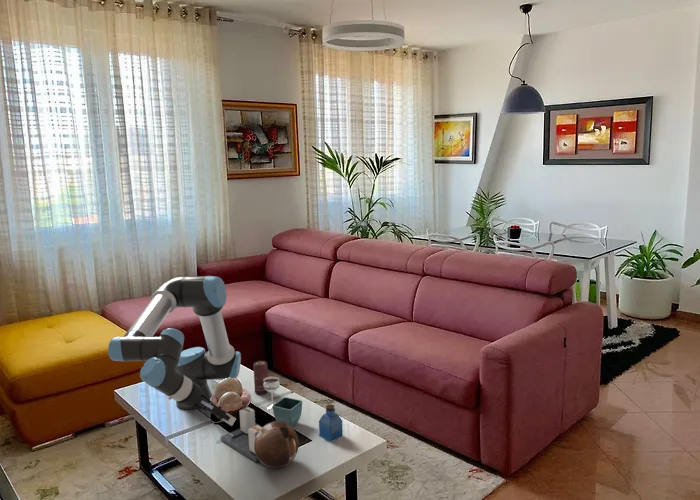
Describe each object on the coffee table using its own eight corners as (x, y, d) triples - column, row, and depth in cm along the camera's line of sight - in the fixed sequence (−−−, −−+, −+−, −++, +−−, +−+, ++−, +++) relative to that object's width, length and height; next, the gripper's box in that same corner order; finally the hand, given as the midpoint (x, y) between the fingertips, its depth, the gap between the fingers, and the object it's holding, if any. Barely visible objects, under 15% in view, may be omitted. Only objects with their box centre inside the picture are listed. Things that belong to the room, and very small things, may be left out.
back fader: (240, 430, 207) (239, 409, 206) (249, 426, 210) (248, 406, 209) (246, 433, 205) (245, 413, 203) (255, 429, 207) (254, 409, 206)
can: (263, 396, 240) (261, 366, 237) (252, 393, 243) (250, 363, 241) (271, 391, 245) (270, 361, 243) (261, 388, 248) (259, 358, 246)
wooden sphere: (248, 462, 189) (245, 422, 187) (286, 448, 198) (284, 409, 195) (267, 482, 177) (265, 440, 175) (307, 466, 186) (305, 426, 183)
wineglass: (283, 404, 232) (282, 378, 230) (274, 411, 226) (273, 384, 224) (270, 401, 235) (269, 375, 233) (261, 408, 229) (259, 381, 227)
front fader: (249, 450, 193) (248, 428, 192) (258, 445, 196) (257, 423, 195) (256, 454, 191) (254, 431, 189) (265, 449, 193) (264, 427, 192)
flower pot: (272, 427, 213) (271, 405, 211) (285, 417, 221) (284, 396, 219) (291, 431, 209) (290, 410, 207) (303, 421, 217) (303, 400, 215)
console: (221, 440, 204) (220, 436, 203) (254, 425, 214) (253, 421, 214) (256, 463, 189) (255, 458, 188) (289, 445, 199) (289, 441, 199)
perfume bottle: (331, 430, 210) (330, 401, 208) (342, 435, 205) (341, 406, 203) (319, 436, 205) (318, 406, 203) (330, 442, 201) (329, 411, 199)
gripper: (166, 395, 173) (216, 425, 187) (187, 408, 164) (237, 438, 178) (180, 374, 175) (228, 405, 190) (202, 386, 166) (250, 417, 181)
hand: (232, 421), depth 184 cm, fingers closed
